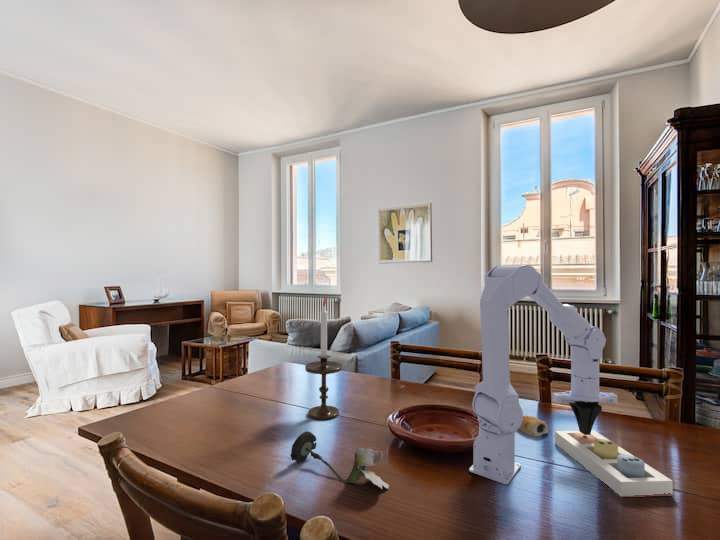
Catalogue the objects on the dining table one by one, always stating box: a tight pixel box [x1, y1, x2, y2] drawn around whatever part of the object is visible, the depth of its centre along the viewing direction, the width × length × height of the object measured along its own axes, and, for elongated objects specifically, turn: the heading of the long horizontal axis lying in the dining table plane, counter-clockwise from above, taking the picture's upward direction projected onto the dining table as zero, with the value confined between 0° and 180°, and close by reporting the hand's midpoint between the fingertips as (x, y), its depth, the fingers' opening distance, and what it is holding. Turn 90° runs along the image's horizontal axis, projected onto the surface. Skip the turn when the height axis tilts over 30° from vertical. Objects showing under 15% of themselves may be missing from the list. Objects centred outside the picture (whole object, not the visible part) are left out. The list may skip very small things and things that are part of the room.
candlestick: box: [305, 296, 343, 421], centre depth 110 cm, size 11×11×35 cm
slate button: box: [617, 454, 645, 478], centre depth 73 cm, size 4×4×3 cm
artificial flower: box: [290, 431, 390, 490], centre depth 77 cm, size 9×22×10 cm, turn 51°
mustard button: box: [594, 439, 619, 459], centre depth 80 cm, size 4×4×3 cm
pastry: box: [517, 415, 549, 437], centre depth 100 cm, size 9×7×4 cm
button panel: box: [554, 430, 674, 496], centre depth 80 cm, size 22×10×3 cm, turn 2°
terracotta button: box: [574, 433, 596, 444], centre depth 87 cm, size 4×4×3 cm
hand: (584, 433), depth 87 cm, fingers closed
